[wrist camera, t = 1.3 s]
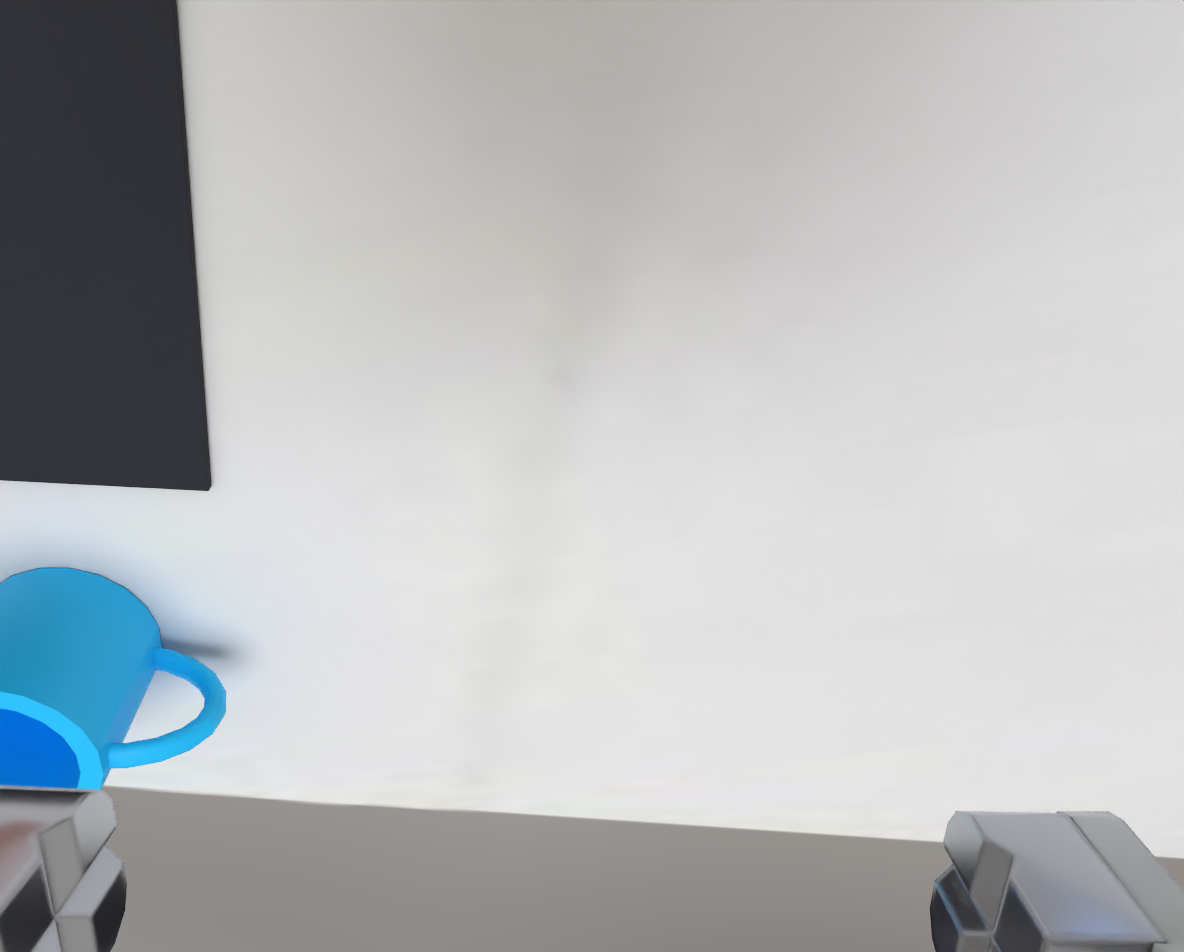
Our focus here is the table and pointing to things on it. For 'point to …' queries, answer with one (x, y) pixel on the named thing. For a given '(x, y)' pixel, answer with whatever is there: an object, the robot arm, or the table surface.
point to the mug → (84, 680)
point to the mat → (97, 250)
